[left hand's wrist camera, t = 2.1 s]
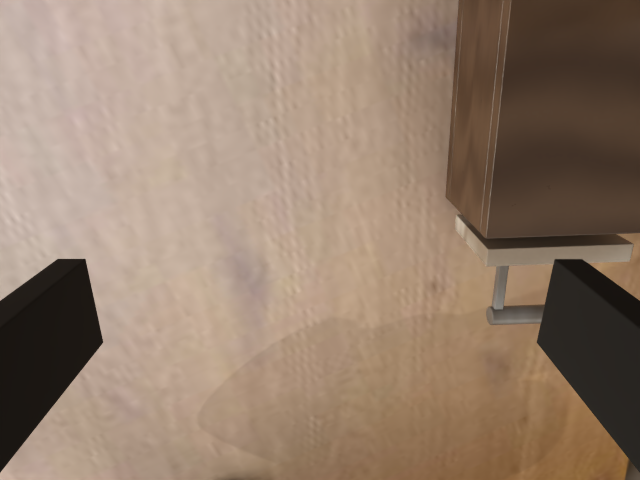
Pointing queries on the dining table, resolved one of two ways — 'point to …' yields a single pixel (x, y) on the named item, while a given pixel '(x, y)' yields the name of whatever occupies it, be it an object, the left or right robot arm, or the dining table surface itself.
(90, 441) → the dining table surface
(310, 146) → the dining table surface
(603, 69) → the cabinet
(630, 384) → the left robot arm
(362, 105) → the dining table surface
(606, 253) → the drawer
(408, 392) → the dining table surface
